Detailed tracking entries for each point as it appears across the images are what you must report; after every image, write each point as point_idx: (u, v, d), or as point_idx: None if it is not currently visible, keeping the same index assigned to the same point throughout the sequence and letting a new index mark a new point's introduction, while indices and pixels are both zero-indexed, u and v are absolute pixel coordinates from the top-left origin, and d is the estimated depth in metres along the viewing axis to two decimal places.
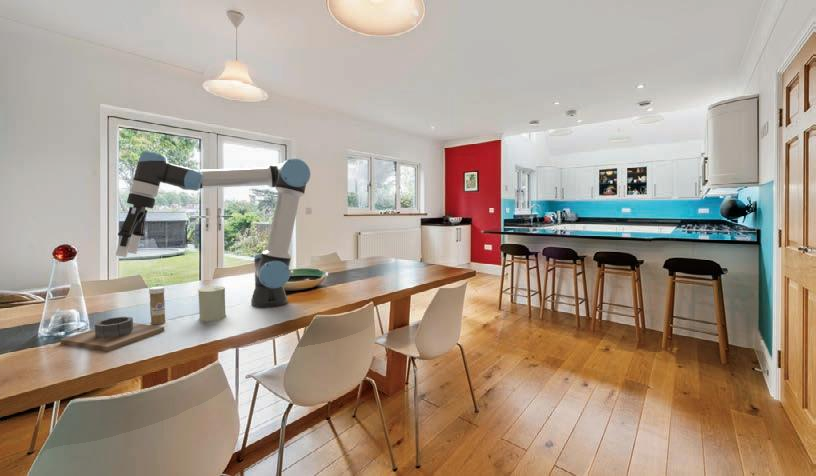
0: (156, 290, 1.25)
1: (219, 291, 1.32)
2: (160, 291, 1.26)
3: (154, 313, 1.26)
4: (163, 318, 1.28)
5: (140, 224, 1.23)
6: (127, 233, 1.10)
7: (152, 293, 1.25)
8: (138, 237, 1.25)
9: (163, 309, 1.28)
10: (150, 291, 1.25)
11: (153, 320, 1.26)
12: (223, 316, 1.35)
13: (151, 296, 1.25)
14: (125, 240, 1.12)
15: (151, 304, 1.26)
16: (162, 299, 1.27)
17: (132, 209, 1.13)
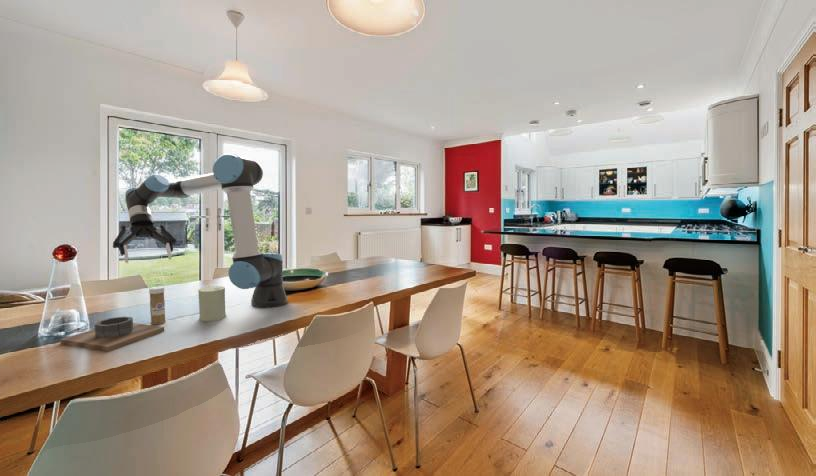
0: (156, 290, 1.25)
1: (219, 291, 1.32)
2: (160, 291, 1.26)
3: (154, 313, 1.26)
4: (163, 318, 1.28)
5: (156, 236, 1.40)
6: (113, 243, 1.29)
7: (152, 293, 1.25)
8: (166, 244, 1.40)
9: (163, 309, 1.28)
10: (150, 291, 1.25)
11: (153, 320, 1.26)
12: (223, 316, 1.35)
13: (151, 296, 1.25)
14: (120, 249, 1.30)
15: (151, 304, 1.26)
16: (162, 299, 1.27)
17: None
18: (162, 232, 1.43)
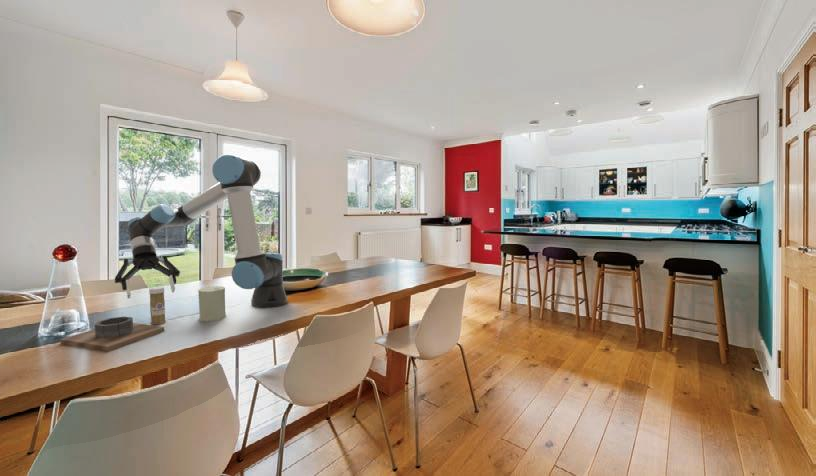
0: (156, 290, 1.25)
1: (219, 291, 1.32)
2: (160, 291, 1.26)
3: (154, 313, 1.26)
4: (163, 318, 1.28)
5: (159, 267, 1.37)
6: (115, 278, 1.26)
7: (152, 293, 1.25)
8: (169, 277, 1.36)
9: (163, 309, 1.28)
10: (150, 291, 1.25)
11: (153, 320, 1.26)
12: (223, 316, 1.35)
13: (151, 296, 1.25)
14: None
15: (151, 304, 1.26)
16: (162, 299, 1.27)
17: None
18: (165, 263, 1.40)
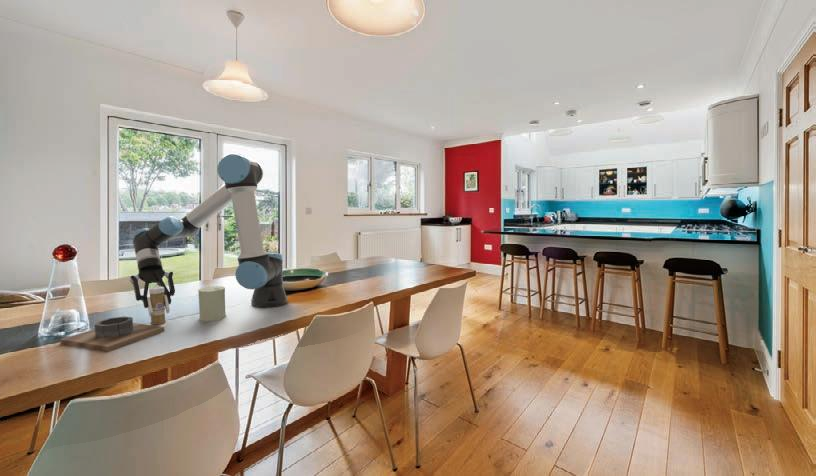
0: (156, 290, 1.25)
1: (219, 291, 1.32)
2: (160, 291, 1.26)
3: (154, 313, 1.26)
4: (163, 318, 1.28)
5: (159, 283, 1.31)
6: (136, 296, 1.24)
7: (152, 293, 1.25)
8: (164, 296, 1.29)
9: (163, 309, 1.28)
10: (150, 291, 1.25)
11: (153, 320, 1.26)
12: (223, 316, 1.35)
13: (151, 296, 1.25)
14: (143, 301, 1.24)
15: (151, 304, 1.26)
16: (162, 299, 1.27)
17: (130, 280, 1.28)
18: (168, 279, 1.35)
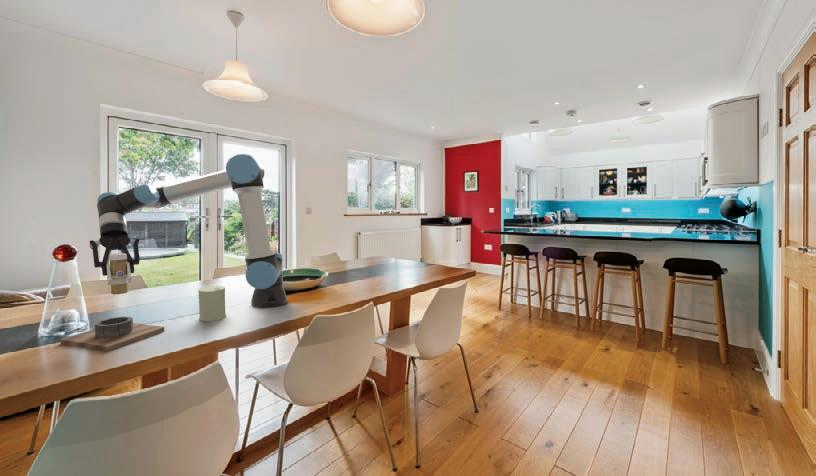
0: (116, 256, 1.13)
1: (219, 291, 1.32)
2: (121, 258, 1.14)
3: (114, 282, 1.13)
4: (124, 288, 1.15)
5: (122, 250, 1.19)
6: (94, 262, 1.12)
7: (112, 259, 1.13)
8: (126, 264, 1.16)
9: (125, 278, 1.15)
10: (110, 257, 1.13)
11: (113, 289, 1.14)
12: (223, 316, 1.35)
13: (111, 263, 1.13)
14: None
15: (111, 272, 1.13)
16: (124, 267, 1.15)
17: (90, 245, 1.16)
18: (133, 246, 1.22)
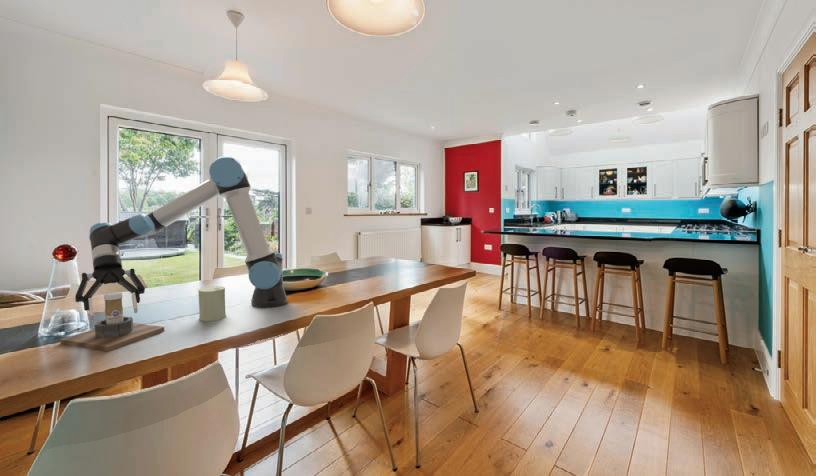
0: (111, 296, 1.11)
1: (219, 291, 1.32)
2: (116, 297, 1.12)
3: (110, 322, 1.11)
4: None
5: (122, 282, 1.18)
6: (75, 297, 1.08)
7: (107, 299, 1.10)
8: (132, 294, 1.17)
9: (120, 317, 1.13)
10: (105, 297, 1.11)
11: None
12: (223, 316, 1.35)
13: (106, 303, 1.11)
14: None
15: (106, 312, 1.11)
16: (119, 306, 1.13)
17: None
18: (131, 277, 1.21)
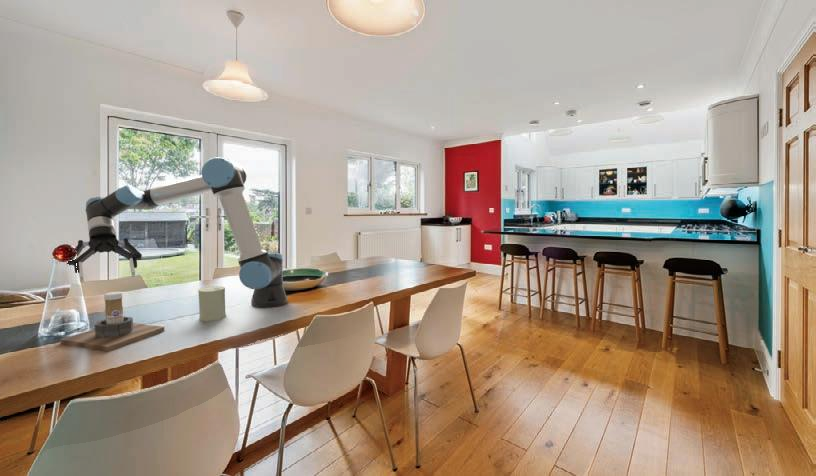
0: (112, 296, 1.11)
1: (219, 291, 1.32)
2: (116, 297, 1.12)
3: (110, 322, 1.11)
4: None
5: (119, 250, 1.27)
6: None
7: (107, 299, 1.10)
8: None
9: (120, 317, 1.13)
10: (105, 297, 1.11)
11: None
12: (223, 316, 1.35)
13: (106, 303, 1.11)
14: None
15: (106, 312, 1.11)
16: (119, 306, 1.13)
17: (78, 244, 1.22)
18: (126, 246, 1.30)
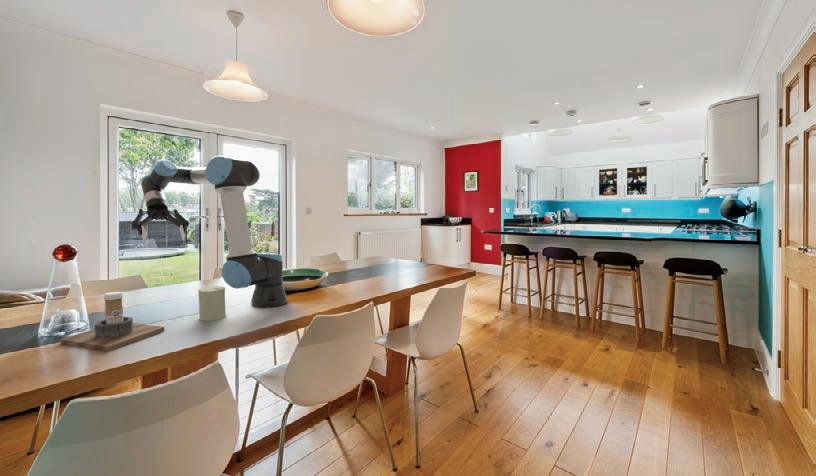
0: (112, 296, 1.11)
1: (219, 291, 1.32)
2: (116, 297, 1.12)
3: (110, 322, 1.11)
4: None
5: (171, 218, 1.51)
6: (132, 224, 1.40)
7: (107, 299, 1.10)
8: (180, 226, 1.51)
9: (120, 317, 1.13)
10: (105, 297, 1.11)
11: None
12: (223, 316, 1.35)
13: (106, 303, 1.11)
14: (138, 229, 1.41)
15: (106, 312, 1.11)
16: (119, 306, 1.13)
17: None
18: (176, 215, 1.54)
